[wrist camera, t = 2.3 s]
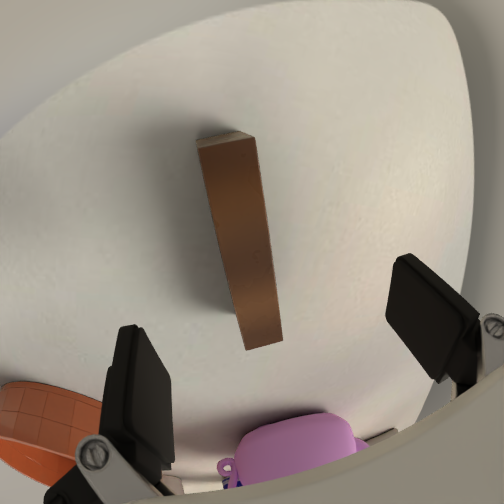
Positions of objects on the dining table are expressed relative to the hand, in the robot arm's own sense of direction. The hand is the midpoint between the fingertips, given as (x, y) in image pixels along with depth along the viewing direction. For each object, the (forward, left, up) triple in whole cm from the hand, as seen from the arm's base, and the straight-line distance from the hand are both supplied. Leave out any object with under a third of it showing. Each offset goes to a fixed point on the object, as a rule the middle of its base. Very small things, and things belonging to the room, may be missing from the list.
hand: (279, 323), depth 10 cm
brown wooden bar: (0, 0, -7) cm, 7 cm away
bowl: (+19, -23, -7) cm, 31 cm away
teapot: (+27, +2, -7) cm, 28 cm away
